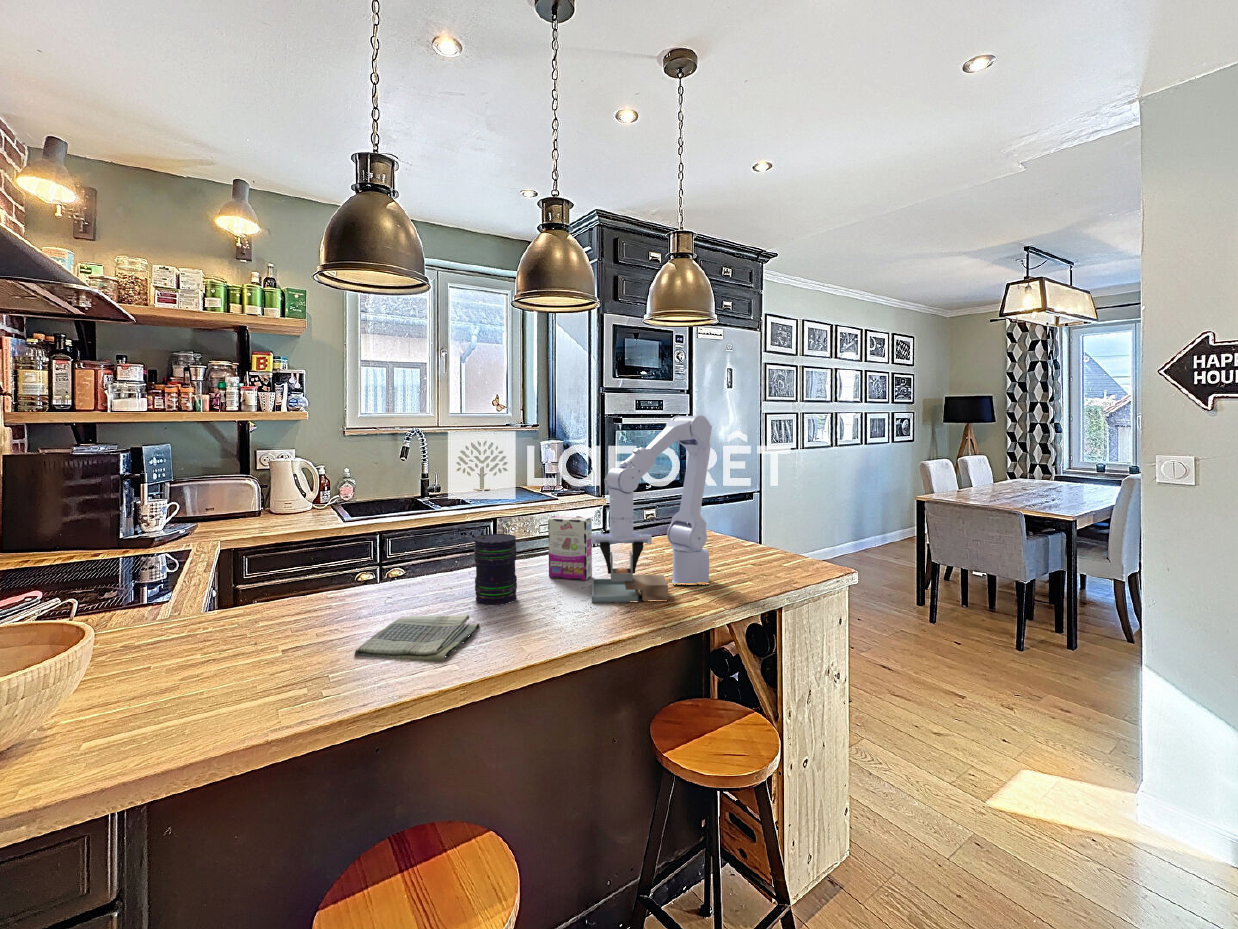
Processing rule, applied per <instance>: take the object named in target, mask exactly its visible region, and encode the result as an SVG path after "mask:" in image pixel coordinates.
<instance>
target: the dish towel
mask: <svg viewBox="0 0 1238 929" xmlns="http://www.w3.org/2000/svg"><path fill="white" fill-rule="evenodd" d="M469 620H470V615H469V614H461V615H420V616H419V615H414V616H413V615H411V616H410V615H409V616H402V617H400V618H398V619H396V620H394V621H393V622H391V623H390V624H389V625H387V626H385V628H383V629H381V630H380V631H378V632H377V633H376V634H374V635H373V636H372V637H371V638H369V639H368V640H366V641H365V642H364V643H362V644H361V645H360V646H359V647H358V648H356V649H355V651H354V656H355V657H365V658H366V657H367V658H380V659H393V660H404V659H410V660H409V661H419V660H424V661H423V662H442V661H443V662H445V661H446V658H445V656H451V655H452V653H453V652H454V651H455V650H456V651H457V650H459V649H460V648H461V647H460V645H463V644H465V643H467V641H469V640H470V639H471V638H472V637H473V636H472V634H473V633H476V632H475V631H477V630H480V629H481V627H480V623H479V622H474V623H470V624H468V623H467V622H468V621H469ZM479 628H480V629H479ZM472 632H473V633H472ZM469 635H470V636H469ZM468 636H469V637H468ZM469 638H470V639H469ZM468 639H469V640H468ZM462 642H464V643H462ZM459 647H460V648H459ZM458 648H459V649H458ZM456 651H455V652H456ZM455 652H454V653H455ZM454 653H453V654H454ZM444 658H445V659H444Z"/></svg>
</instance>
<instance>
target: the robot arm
mask: <svg viewBox="0 0 1238 929" xmlns="http://www.w3.org/2000/svg"><path fill="white" fill-rule="evenodd" d="M712 428H713V426H712V425H711V423H710V422H709V420H708V418H707V417H706V416H704V415H675V416H674V417H671V419H670V420H669V421H667V422H666V424H665V427H664V429H663V430H661V432H660V433H659V434H658V435H657V436H656V437H655V438H654V439H653V440H652V441H651V442H650V443H648V445H647V446H646V447H638V448H634V449H633V450H632V454H631V455H629V457H627V459H625V460H624V461H621V462H620V464H619V466H617V467H613V468H611V469H610V470H609V471H608V472H607V474H606V477H605V478H604V484H605V486H606V488H607V490H608V496H609V533H599V534H592V535H591V544H592V545H596V544H599V548H600V550H601V553H602V556H603V558H604V560H605V563H606V567H607V574H608V575H610V574H611V565H610V552H611V544H631V546H632V547H631V548H632V550H631V552H632V556H633V575H634V574H636V567H637V564H638V561H639V558H640V555H641V554H642V552H643V550H644V548H645V546H644V544H649V545H650V544H652V542H653V541H652V539H653V538H652V534H649V533H648V534H646V533H634V491H636V490H637V488H638V487H639V484H640V480H641V479H642V478H643V477H644V476H645V475H646V474H647V473H648V472H649V471H650V470H651V469H652V468H653V467H654V466H655V465H656V458H657V457H658V456H660V455H661V454H662V453H664V451H666V450H667V449H668V448H669V447H671V446H672V445H673V444H674V443H675V442H678V443H679V444H680V445H682V446H683V447H684V448H685V450H686V451H687V453H688V456H687V463H686V468H685V469H686V470H685V473H684V481H683V487H682V493H681V500H680V504H679V505H680V506H679V510H678V511H677V512H676V513H675V514H674V515H673V516H671V517H672V518H671V521H670V525H669V526H668V528H667V532H666V539H667V540H668V543H670V544H671V545H670V546H671V548H672V575H669V578H670V577H673V580H672V582H671V584H672V583H697V582H709V583H710V555H709V551H708V549H707V548H704V547H705V545H706V543H707V540H708V535H707V534H708V533H707V522H706V521H705V519H704V517H703V516H702V515H701V512H702V510H701V509H702V503H703V498H704V491H705V484H706V478H707V472H708V467H709V460H710V453H711V442H710V441H711V435H712V430H713V429H712ZM687 523H688V524H687Z"/></svg>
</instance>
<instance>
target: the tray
mask: <svg viewBox="0 0 1238 929" xmlns="http://www.w3.org/2000/svg"><path fill="white" fill-rule="evenodd" d="M630 601H639V593H638V590H626V588H625V583H624V581H611V578H592V579H591V604H610V603H609V602H630Z"/></svg>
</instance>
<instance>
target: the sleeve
mask: <svg viewBox="0 0 1238 929" xmlns="http://www.w3.org/2000/svg"><path fill="white" fill-rule="evenodd" d="M613 560H614V559H613V552H612V551H610V565H611V574H609V575H610V576H609V577H610V579H611V581H633V575H634V574H633V556H632V550H631V551H629V567H628V568H627V567H625V568H626V569H627V570H628V572H629V573H619V574H616V571H617V570H618V569H619V568H615V567H614V568H613V564H614V563H613Z"/></svg>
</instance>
